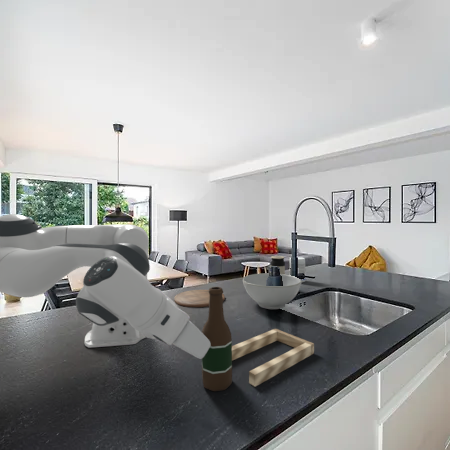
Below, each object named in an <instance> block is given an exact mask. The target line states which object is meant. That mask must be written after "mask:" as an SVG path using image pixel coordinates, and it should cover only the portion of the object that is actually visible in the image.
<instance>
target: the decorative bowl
mask: <svg viewBox="0 0 450 450" xmlns="http://www.w3.org/2000/svg"><path fill="white" fill-rule="evenodd" d="M280 275H281V276H282V281H283V286H266V280H267V278H268V276H269V273H254V274H249V275H246V276H244V277H243V278H242V283H243V287H244V289H245V291H246V293H247V294H248V296H249V297H250V298H251V299H252V300H253V301H254V302H256V304H257V305H258V306H259V307H260V308H263V309H268V310H279V309H280V310H281V309H283V308H285V307H286V305H287V304H288V303H291V301H293V299H294V298H295V297H296V296H297V294H298V293H299V290H300V289H301V285H302V283H301V279H299V278H297V277H295V276H291V275H290V274H286V273H285V274H280Z"/></svg>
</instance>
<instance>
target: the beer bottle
mask: <svg viewBox="0 0 450 450" xmlns="http://www.w3.org/2000/svg"><path fill="white" fill-rule="evenodd" d="M208 290H209V294H210V298H209V307H208V316H207V320H206V322H205V323H204V324H203V327H202V329H201V332H202V333H203V334H204V335H205V336H206V337H207V339H208V340H209V341H210V343H211V346H210V348H209V350H208V351H207V353H206V354H205V356H204V357H203V358H202V359H201V379H202V384H203V388H205V389H206V390H208V391H212V392H219V391H226V389H228V388H229V387H230V386H231V385H232V382H233V361H232V346H233V343H232V342H233V341H232V339H233V338H232V332H231V329H230V326H229V325H228V323H227V322H226V320H225V315H224V304H223V303H224V301H223V299H222V293H223V294H224V289H223V288H222V287H220V286H212V287H209V289H208Z"/></svg>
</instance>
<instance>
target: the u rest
mask: <svg viewBox="0 0 450 450" xmlns="http://www.w3.org/2000/svg"><path fill="white" fill-rule="evenodd" d="M277 341H278V342H280V343H282V344H285V345H288V346H290V347H291V348H292V349H290V350H289V351H287V352H285V353H283V354H281V355H279V356H276V357H274V358H272V359H271V360H269V361H267V362H264V363H263V364H261V365H259V366H256V367H255V368H253V369H251V370H249V371H248V374H249V375H248V380H249V381H248V384H250V385H252V386H253V387H254V388H256V387H257V386H259V385H261V384H262V383H264V382H267V381H268V380H270V379H272V378H273V377H275V376H277V375H278V374H280V373H282V372H283V371H284V372H285V370H287V369H289V368H291V367H293V366H295V365H296V364H298V363H299V362H301V361H303V360H305V359H307V358H308V357H310V356H312V355H314V353H315V343H314V342H311V341H309V340H306V339H304V338H300V337H298V336H297V335H296V336H295V335H293V334H290V333H288V332H285V331H282V330H280V329H278V328H273V329H271V330H268V331H266V332H264V333H260V334H258V335H257V336H256V335H255V336H253V337H251V338H249V339H247V340H244V341H241V342H238V343H237V344H234V345H232V362H233V361H234V360H237V359H239V358H242V357H243V356H245V355H246V356H247V355H248V354H250V353H253V352H255V351H257V350H259V349H261V348H263V347H266V346H268V345H270V344H272V343H274V342H277Z"/></svg>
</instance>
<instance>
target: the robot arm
mask: <svg viewBox="0 0 450 450" xmlns="http://www.w3.org/2000/svg"><path fill="white" fill-rule="evenodd" d="M149 245H150V243H149V235H148V233H147V231H146V230H145V229H144V228H142V227H141V226H138V225H135V224H129V223H125V224H96V225H95V224H91V225H90V224H89V225H85V224H84V225H83V224H82V225H56V226H47V227H43V226H42V225H40V224H37V223H36V221H35V220H34V219H33V218H31V217H29V216H27V215H22V214H16V213H12V214H4V215H0V293H3V294H6V295H9V296H12V297H18V298H33V297H37V296H39V295H42V294H44V293H45V292H47V291H49V290H50V289H52V288H53V287H54V286H55V285H56V284H58V282H59V281H61V280H63V278H65V277H66V276H67V275H69V274H70V273H72V272H73V271H75V270H77V269H80V268H83V267H89V269H88V270H87V272H86V273H85V275H84V278H83V281H82V284H83V286H82V287H81V289H80V291H79V292H78V294H77V295H76V297H75V306H76V310H77V313H78V314H80V315H81V316H82V317H84V318H85V319H87V320H89V321H90V322H91V323H92V326H91V330H89V331H88V332H87V333H86V335H85V336H84V341H83V343H84V346H85V347H87V348H101V347H102V348H103V347H114V346H116V347H117V346H128V345H136V344H138V343H139V342H140V341H141V340H143V339H146V338H147V339H153V340H156V341H160V342H162V343H164V344H166V345H168V346H172V345H174V346H175V347H177V348H179V349H180V350H182V351H184V352H186V353H188V354H190V356H193V357H195V358H196V359H200V360H202V358H203V357H204V356H205V354H206V353H207V351H208V350H209V348H210V346H211V343H210V341H209V340H208V339H207V337H206V336H205V335H204V334H203V333H202V330H200V328H198V327H197V325H196V324H194V323H193V322H192V321H190V318H191V317H190V315H189V314H188V313H187V312H185V311H184V310H183V309H182V308H180V307H179V305H178V304H176V303H175V301H174V300H173V299H172V298H170V297H169V296H168V295H166V293H164V292H163V291H162V289H160V288H158V287H155V286H154V285H152V283H151V282H150V281H149V279H148V273H149V272H150V269H151V266H150V260H149V251H150V250H149V248H150V246H149Z"/></svg>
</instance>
